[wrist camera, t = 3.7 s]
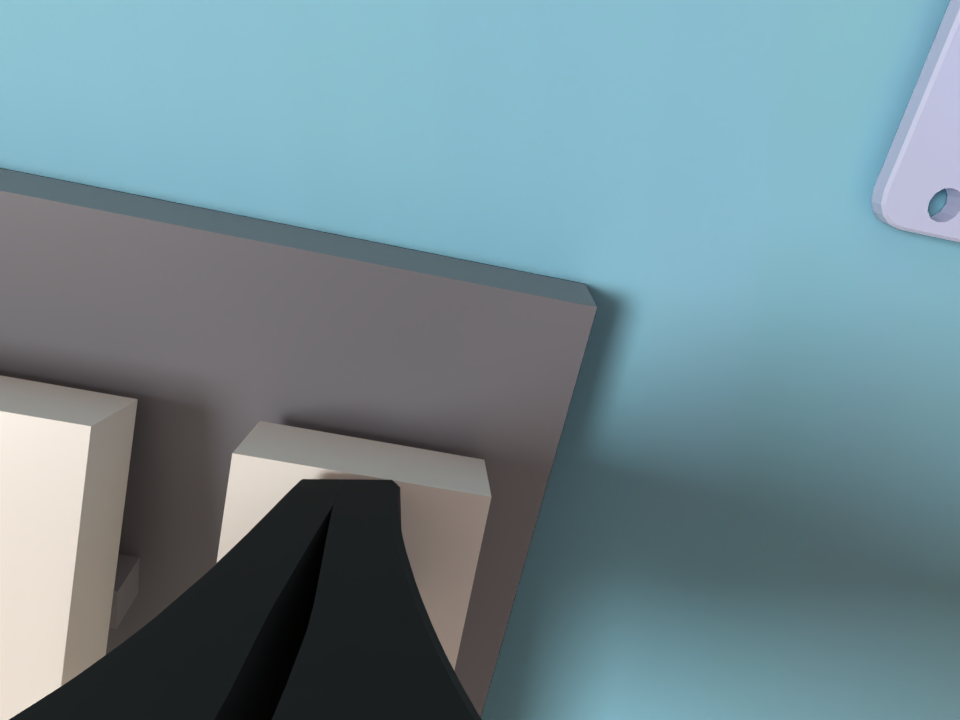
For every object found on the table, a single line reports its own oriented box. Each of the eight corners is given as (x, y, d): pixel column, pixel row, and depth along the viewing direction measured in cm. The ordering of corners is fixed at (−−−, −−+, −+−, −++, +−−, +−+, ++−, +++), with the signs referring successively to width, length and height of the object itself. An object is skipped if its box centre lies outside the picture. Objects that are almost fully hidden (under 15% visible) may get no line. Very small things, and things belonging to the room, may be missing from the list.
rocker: (484, 459, 12) (492, 499, 10) (397, 875, 13) (390, 969, 12) (260, 420, 12) (230, 455, 10) (194, 851, 13) (159, 944, 11)
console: (585, 284, 13) (607, 327, 11) (443, 805, 17) (439, 900, 16) (-530, 63, 11) (-744, 67, 9) (-341, 705, 16) (-453, 796, 14)
